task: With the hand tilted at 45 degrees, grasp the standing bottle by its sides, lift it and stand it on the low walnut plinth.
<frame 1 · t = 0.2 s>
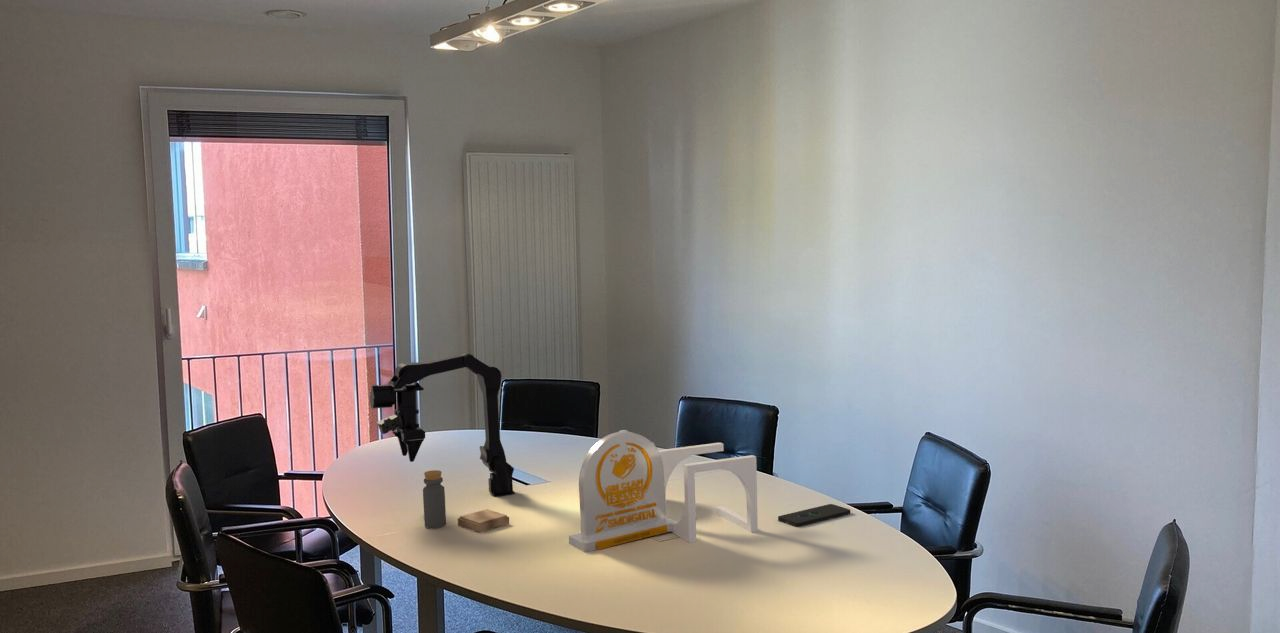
hand: (408, 458, 294), 14 cm above the table, tool pointing down, fingers open, 9 cm apart
canister: (625, 500, 295), on the table
award: (624, 537, 259), on the table, touching white arched frame
white arched frame: (706, 527, 267), on the table, touching award
plinth: (483, 524, 274), on the table
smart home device: (814, 519, 273), on the table
bottle: (435, 526, 275), on the table
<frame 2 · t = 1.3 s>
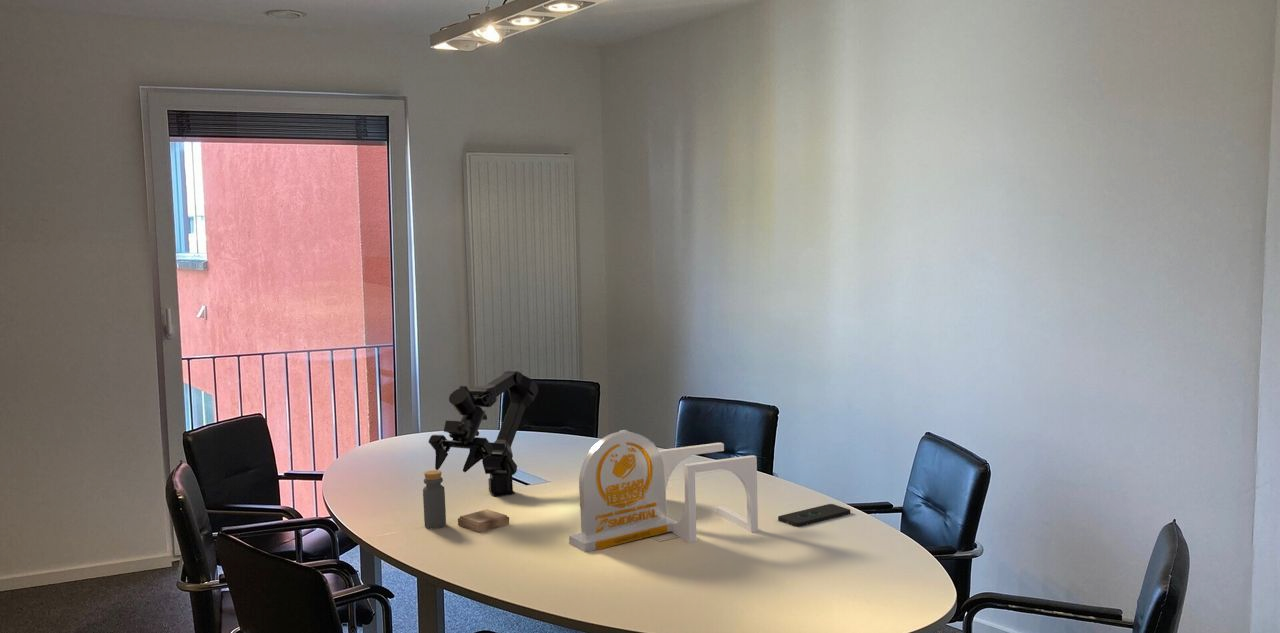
hand: (450, 470, 282), 13 cm above the table, tool tilted 45°, fingers open, 9 cm apart
nothing on the table moved.
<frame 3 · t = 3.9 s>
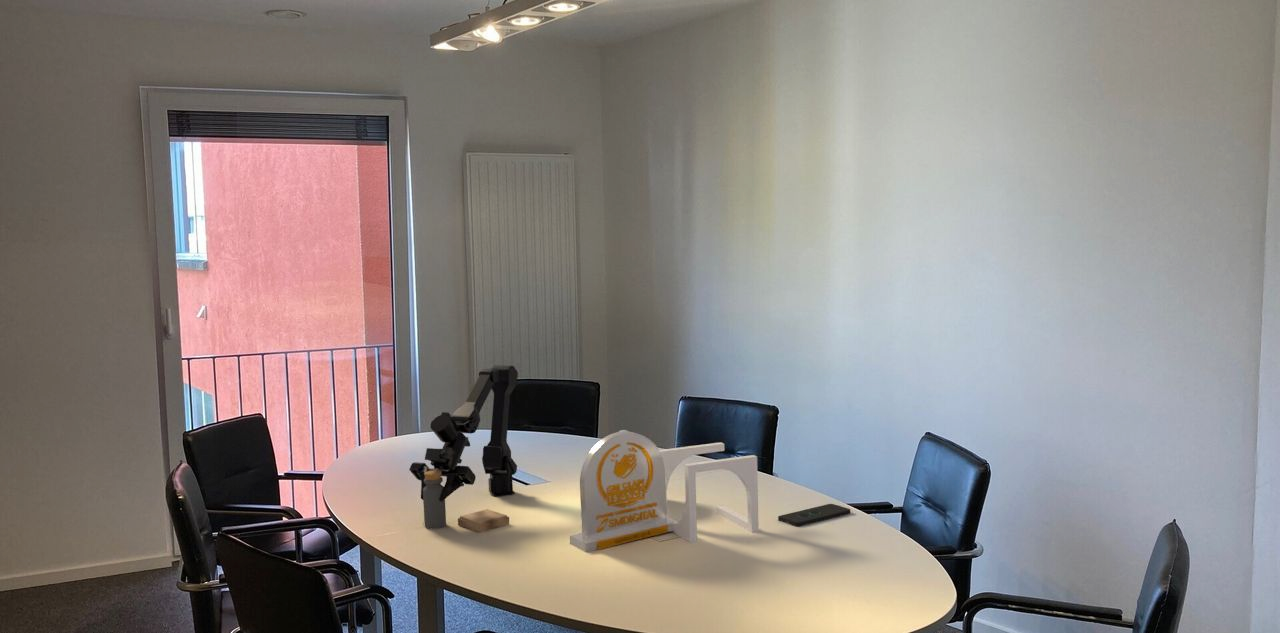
hand: (431, 499, 273), 8 cm above the table, tool tilted 45°, fingers closed on bottle, 6 cm apart
bottle: (435, 526, 275), on the table, touching gripper
everything else where it was.
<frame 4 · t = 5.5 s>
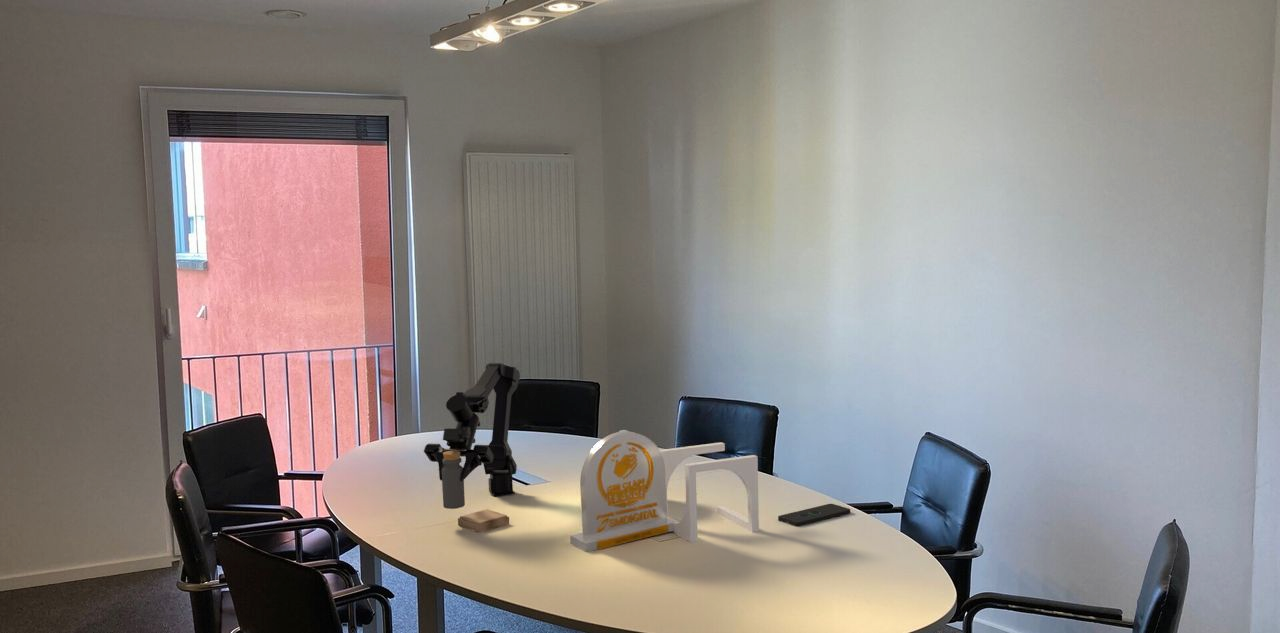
hand: (450, 480, 272), 13 cm above the table, tool tilted 45°, fingers closed on bottle, 6 cm apart
bottle: (454, 506, 274), point 5 cm above the table, touching gripper
everything else where it was.
when the fingers open (11 cm above the table, at t = 6.9 s): bottle stays where it is, resting on plinth.
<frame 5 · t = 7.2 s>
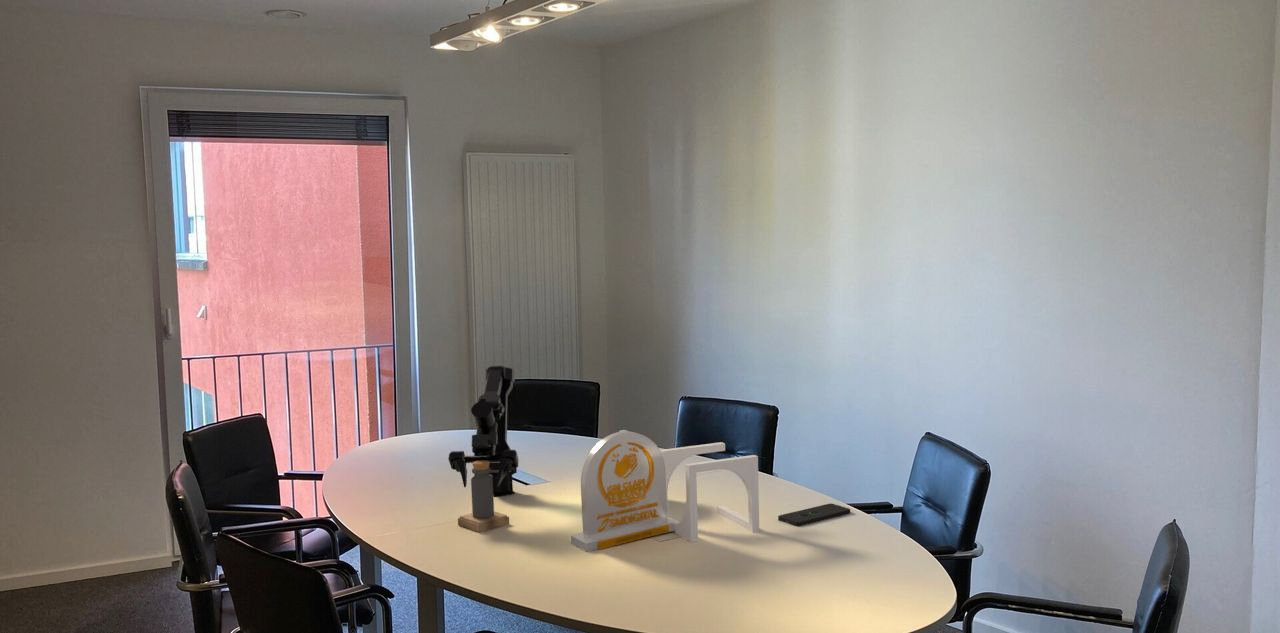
hand: (481, 486, 272), 11 cm above the table, tool tilted 45°, fingers open, 9 cm apart
bottle: (483, 516, 274), point 2 cm above the table, touching plinth
everything else where it was.
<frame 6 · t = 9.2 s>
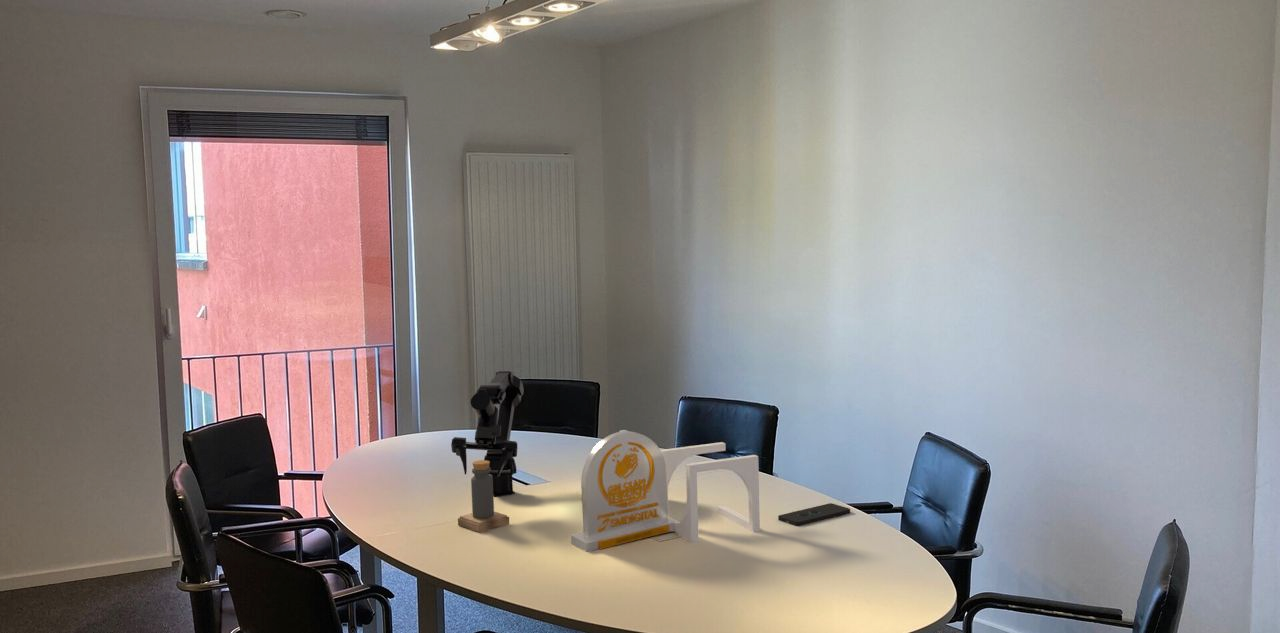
hand: (481, 475, 284), 11 cm above the table, tool tilted 35°, fingers open, 9 cm apart
nothing on the table moved.
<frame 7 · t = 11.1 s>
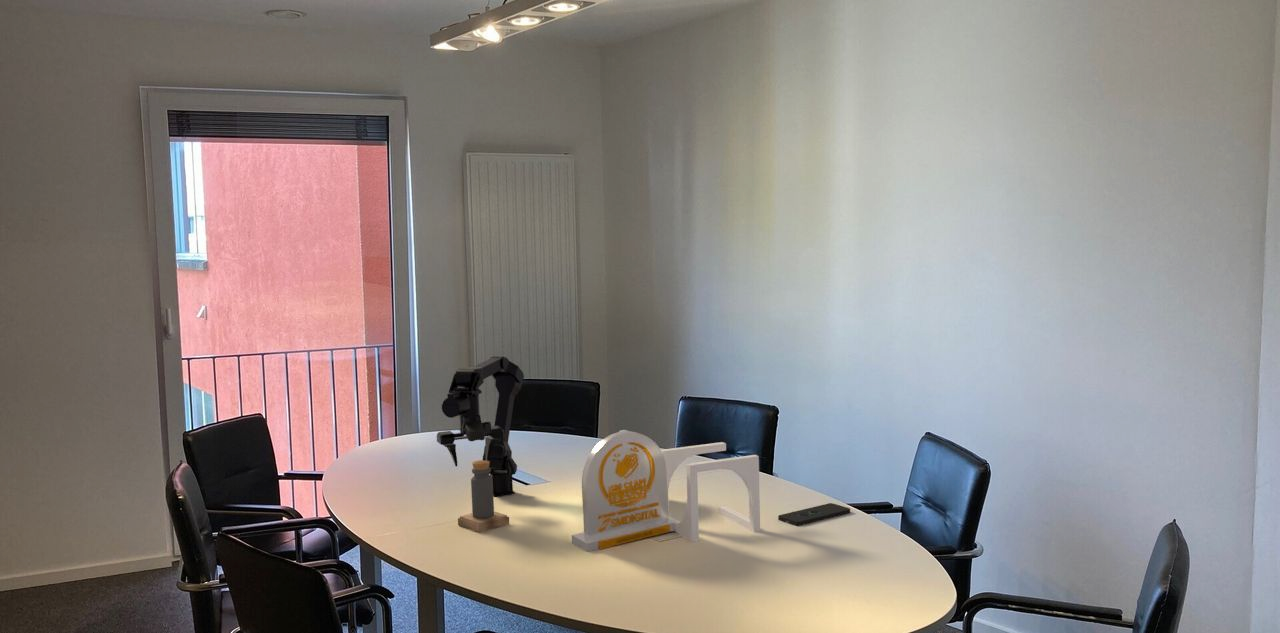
hand: (471, 464, 290), 13 cm above the table, tool pointing down, fingers open, 9 cm apart
nothing on the table moved.
at the end: bottle 0.1 cm from the plinth (horizontally); bottle point 2.3 cm above the table; bottle tilted 0° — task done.
